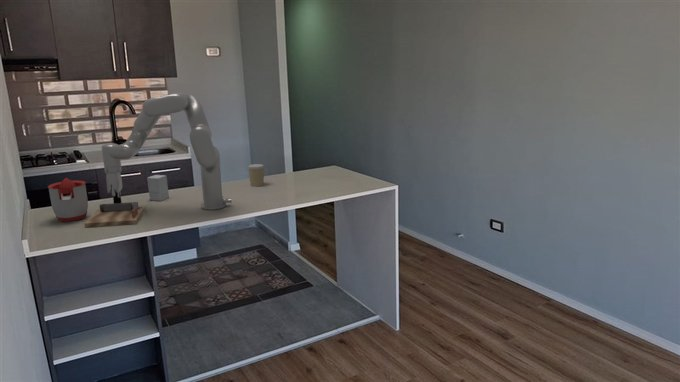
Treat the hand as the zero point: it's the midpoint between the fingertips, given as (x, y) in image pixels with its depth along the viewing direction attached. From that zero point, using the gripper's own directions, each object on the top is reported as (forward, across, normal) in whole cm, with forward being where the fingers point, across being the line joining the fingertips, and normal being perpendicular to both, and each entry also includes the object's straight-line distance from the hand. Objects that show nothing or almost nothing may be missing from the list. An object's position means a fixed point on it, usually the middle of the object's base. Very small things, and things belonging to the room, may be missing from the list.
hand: (118, 205), depth 238 cm
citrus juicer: (+4, +8, -19) cm, 21 cm away
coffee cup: (+4, -39, +69) cm, 79 cm away
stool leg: (+1, +5, +2) cm, 5 cm away
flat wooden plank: (+3, +12, +2) cm, 13 cm away
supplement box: (+4, -20, +16) cm, 26 cm away
